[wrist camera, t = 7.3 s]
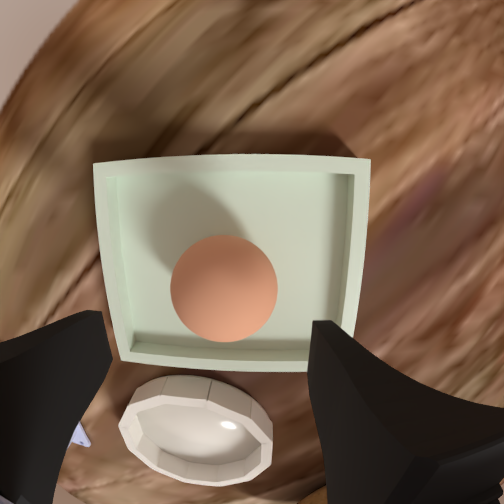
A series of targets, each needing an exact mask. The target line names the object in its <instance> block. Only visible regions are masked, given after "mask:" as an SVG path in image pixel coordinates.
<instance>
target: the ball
mask: <svg viewBox="0 0 504 504" xmlns="http://www.w3.org/2000/svg"><path fill="white" fill-rule="evenodd" d="M170 293H171V300H172V304H173V307H174V309H175V311H176V313H177V315H178V317H179V319H180V320H181V321H182V323H183V324H184V325H185V326H186V327H187V328H188V329H189V330H191V331H192V332H193V333H195V334H196V335H198V336H200V337H202V338H205V339H207V340H211V341H216V342H234V341H238V340H241V339H244V338H246V337H248V336H250V335H252V334H254V333H255V332H257V331H258V330H259V329H260V328H261V327H262V326H263V325H264V324H265V323H266V322H267V320H268V319H269V317H270V316H271V314H272V312H273V310H274V307H275V304H276V301H277V294H278V283H277V277H276V274H275V270H274V268H273V266H272V263H271V262H270V260H269V259H268V257H267V256H266V255H265V254H264V252H263V251H262V250H261V249H259V248H258V247H257V246H256V245H254V244H253V243H251V242H250V241H248V240H246V239H243V238H240V237H237V236H232V235H216V236H211V237H207V238H204V239H202V240H200V241H198V242H196V243H195V244H193V245H192V246H190V247H189V248H188V249H187V250H186V251H185V252H184V253H183V254H182V255H181V257H180V258H179V260H178V261H177V263H176V265H175V267H174V270H173V273H172V277H171V283H170Z"/></svg>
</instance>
